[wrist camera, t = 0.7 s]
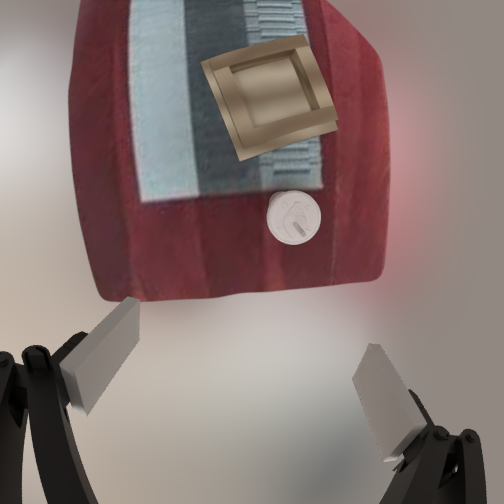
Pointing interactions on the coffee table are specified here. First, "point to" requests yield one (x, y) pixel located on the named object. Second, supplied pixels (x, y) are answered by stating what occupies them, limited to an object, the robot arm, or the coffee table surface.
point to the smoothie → (293, 216)
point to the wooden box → (271, 95)
